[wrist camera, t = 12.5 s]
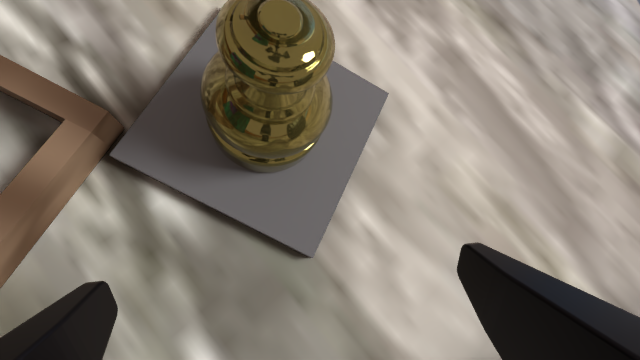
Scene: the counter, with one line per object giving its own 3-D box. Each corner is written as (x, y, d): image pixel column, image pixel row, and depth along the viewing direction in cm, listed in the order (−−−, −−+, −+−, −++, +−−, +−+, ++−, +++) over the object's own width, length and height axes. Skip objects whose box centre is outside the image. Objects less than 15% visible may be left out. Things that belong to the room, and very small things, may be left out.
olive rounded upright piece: (245, 57, 22) (244, -94, 12) (334, 110, 22) (398, 5, 13) (186, 138, 19) (128, 30, 10) (286, 194, 20) (322, 143, 11)
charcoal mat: (309, 257, 21) (312, 258, 20) (115, 159, 19) (109, 155, 18) (383, 99, 25) (388, 93, 24) (229, 10, 23) (228, 0, 23)
